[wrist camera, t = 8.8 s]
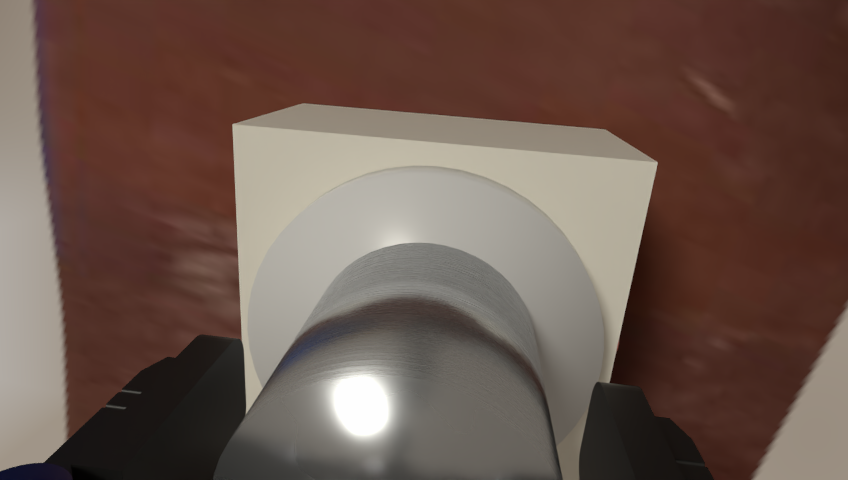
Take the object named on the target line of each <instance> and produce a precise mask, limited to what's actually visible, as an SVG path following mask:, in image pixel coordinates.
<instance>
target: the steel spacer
mask: <svg viewBox="0 0 848 480" xmlns="http://www.w3.org/2000/svg"><path fill="white" fill-rule="evenodd" d="M213 480H563V478H562V473H561V468H560V463H559V457H558V452H557V447H556V442H555V437H554V432H553V427H552V421H551V416H550V411H549V406H548V401H547V396H546V391H545V385H544V380H543V375H542V370H541V365H540V360H539V354H538V349H537V344H536V339H535V334H534V329H533V325H532V321H531V318H530V315H529V313H528V310H527V308H526V306H525V304H524V302H523V300H522V299H521V297H520V295H519V294H518V292H517V291H516V290H515V288H514V287H513V286H512V285H511V283H510V282H509V281H508V280H507V279H506V278H505V277H504V276H503V275H502V274H501V273H500V272H498V271H497V270H496V269H494V268H493V267H492V266H490V265H489V264H488V263H486V262H484V261H483V260H481V259H479V258H478V257H476V256H474V255H471V254H469V253H467V252H464V251H462V250H459V249H456V248H452V247H449V246H445V245H439V244H433V243H404V244H397V245H392V246H387V247H384V248H381V249H378V250H375V251H372V252H370V253H368V254H366V255H364V256H362V257H360V258H358V259H357V260H355V261H354V262H353V263H351V264H350V265H348V266H347V267H346V268H345V269H344V270H343V271H341V272H340V273H339V274H338V275H337V276H336V277H335V279H334V280H333V281H332V282H331V284H330V285H329V286H328V288H327V289H326V291H325V292H324V294H323V295H322V297H321V299H320V300H319V302H318V303H317V305H316V306H315V308H314V309H313V311H312V313H311V314H310V316H309V317H308V319H307V320H306V322H305V323H304V325H303V327H302V328H301V330H300V331H299V333H298V334H297V336H296V338H295V339H294V341H293V342H292V344H291V345H290V347H289V348H288V350H287V352H286V353H285V355H284V356H283V358H282V359H281V361H280V362H279V364H278V366H277V367H276V369H275V370H274V372H273V373H272V375H271V376H270V378H269V380H268V381H267V383H266V384H265V386H264V387H263V389H262V391H261V392H260V394H259V395H258V397H257V398H256V400H255V401H254V403H253V405H252V406H251V408H250V409H249V411H248V412H247V414H246V415H245V417H244V419H243V420H242V422H241V423H240V425H239V426H238V428H237V429H236V431H235V433H234V434H233V436H232V437H231V439H230V440H229V442H228V444H227V446H226V447H225V449H224V451H223V453H222V454H221V456H220V458H219V461H218V464H217V467H216V470H215V472H214V476H213Z"/></svg>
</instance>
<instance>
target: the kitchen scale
mask: <svg viewBox="0 0 848 480" xmlns="http://www.w3.org/2000/svg"><path fill="white" fill-rule="evenodd" d="M233 147H234V170H235V192H236V215H237V238H238V260H239V283H240V306H241V328H242V344H243V348H244V364H245V387H246V414H247V412H248V411H249V409H250V408H251V406H252V405H253V403H254V401H255V400H256V398H257V397H258V395H259V394H260V392H261V391H262V389H263V387H264V386H265V384H266V383H267V381H268V380H269V378H270V376H271V375H272V373H273V372H274V370H275V369H276V367H277V366H278V364H279V362H280V361H281V359H282V358H283V356H284V355H285V353H286V352H287V350H288V348H289V347H290V345H291V344H292V342H293V341H294V339H295V338H296V336H297V334H298V333H299V331H300V330H301V328H302V327H303V325H304V323H305V322H306V320H307V319H308V317H309V316H310V314H311V313H312V311H313V309H314V308H315V306H316V305H317V303H318V302H319V300H320V299H321V297H322V295H323V294H324V292H325V291H326V289H327V288H328V286H329V285H330V284H331V282H332V281H333V280H334V279H335V277H336V276H337V275H338V274H339V273H340V272H341V271H343V270H344V269H345V268H346V267H347V266H348V265H350V264H351V263H353V262H354V261H355V260H357V259H358V258H360V257H362V256H364V255H366V254H368V253H370V252H372V251H375V250H378V249H381V248H384V247H387V246H392V245H397V244H404V243H433V244H439V245H445V246H449V247H452V248H456V249H459V250H462V251H464V252H467V253H469V254H471V255H474V256H476V257H478V258H479V259H481V260H483V261H484V262H486V263H488V264H489V265H490V266H492V267H493V268H494V269H496V270H497V271H498V272H500V273H501V274H502V275H503V276H504V277H505V278H506V279H507V280H508V281H509V282H510V283H511V285H512V286H513V287H514V288H515V290H516V291H517V292H518V294H519V295H520V297H521V299H522V300H523V302H524V304H525V306H526V308H527V310H528V313H529V315H530V318H531V321H532V325H533V329H534V334H535V339H536V344H537V349H538V354H539V360H540V365H541V370H542V375H543V380H544V385H545V391H546V396H547V401H548V406H549V411H550V416H551V421H552V427H553V432H554V437H555V442H556V447H557V452H558V457H559V463H560V468H561V473H562V478H563V480H579V454H580V448H581V443H582V438H583V433H584V428H585V424H586V419H587V414H588V409H589V404H590V400H591V395H592V391H593V388H594V385H595V384H596V383H597V382H604V383H609V382H610V378H611V373H612V369H613V364H614V360H615V355H616V351H618V347H619V337H620V332H621V328H622V323H623V319H624V314H625V309H626V305H627V300H628V296H629V291H630V287H631V282H632V278H633V273H634V269H635V264H636V259H637V255H638V250H639V246H640V241H641V237H642V232H643V228H644V223H645V218H646V214H647V209H648V205H649V200H650V196H651V191H652V187H653V182H654V177H655V173H656V168H657V164H658V162H656V161H655V160H653V159H652V158H650V157H648V156H647V155H645V154H644V153H642V152H640V151H639V150H637V149H636V148H634V147H632V146H631V145H629V144H628V143H626V142H624V141H623V140H621V139H620V138H618V137H616V136H615V135H613V134H612V133H610V132H608V131H607V130H605V129H595V128H583V127H571V126H560V125H548V124H536V123H525V122H513V121H502V120H490V119H478V118H467V117H455V116H444V115H432V114H420V113H409V112H397V111H386V110H374V109H362V108H351V107H339V106H328V105H316V104H304V103H303V104H300V105H296V106H293V107H289V108H286V109H283V110H279V111H276V112H272V113H269V114H266V115H262V116H259V117H255V118H252V119H249V120H245V121H242V122H238V123H235V124H233Z"/></svg>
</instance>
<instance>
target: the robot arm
mask: <svg viewBox="0 0 848 480" xmlns="http://www.w3.org/2000/svg"><path fill="white" fill-rule="evenodd" d="M245 415H246V387H245V364H244V348H243V344H242V342H241V340H240V339H236V338H227V337H219V336H210V335H199V336H197V337H196V338H195V339H194V340H193V341H192V342H191V343H190V344H189V345H188V346H187V347H186V348H185V349H184V350H183V351H182V352H181V353H180V354H179V355H178V356H177V357H176V358H172V357H167V358H165V359H163V360H161V361H159V362H157V363H155V364H153V365H151V366H149V367H148V368H146V369H144V370H142V371H140V372H139V373H138V374H137V375H136V376H135V377H134V378H133V379H132V380H131V381H130V382H129V383H128V384H127V385H126V386H125V387H124V388H122V392H118V393H117V394H116V395H115V396H114V397H113V398H112V399H111V400H110V401H109V402H108V403H107V404H106V407H105V408H101V409H100V410H99V411H98V412H97V413H96V414H95V415H94V416H93V417H92V418H91V419H90V420H89V421H87V422H86V423H85V424H84V425H83V426H82V427H81V428H80V429H79V430H78V431H77V432H76V433H75V434H74V435H73V436H72V437H71V438H69V439H68V440H67V441H66V442H65V443H64V444H63V445H62V446H61V447H60V448H59V449H58V450H57V451H56V452H55V453H54V454H53V455H51V456H50V457H49V458H48V459H47V460H46V461H45V462H44V463H32V464H26V465H20V466H16V467H12V468H9V469H6V470H3V471H0V480H213V476H214V472H215V470H216V467H217V464H218V461H219V458H220V456H221V454H222V453H223V451H224V449H225V447H226V446H227V444H228V442H229V440H230V439H231V437H232V436H233V434H234V433H235V431H236V429H237V428H238V426H239V425H240V423H241V422H242V420H243V419H244V417H245ZM704 464H705V462H704V460H703V459H702V457H701V455H700V453H699V451H698V450H697V448H696V446H695V444H694V442H693V440H692V439H691V438H690V437H689V436H688V435H687V434H686V433H685V432H684V431H682V430H681V429H680V428H679V427H678V426H677V425H676V424H675V423H674V422H673V421H672V420H671V419H670V418H663V417H655V416H654V414H653V412H652V410H651V408H650V406H649V404H648V402H647V400H646V397H645V395H644V393H643V391H642V389H641V388H640V387H638V386H630V385H622V384H613V383H604V382H597V383H596V384H595V385H594V388H593V391H592V395H591V400H590V404H589V409H588V414H587V419H586V424H585V428H584V433H583V438H582V443H581V448H580V454H579V480H714V479H713V477H712V475H711V473H710V471H709V470H708V468H707V467H705V465H704Z"/></svg>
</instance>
